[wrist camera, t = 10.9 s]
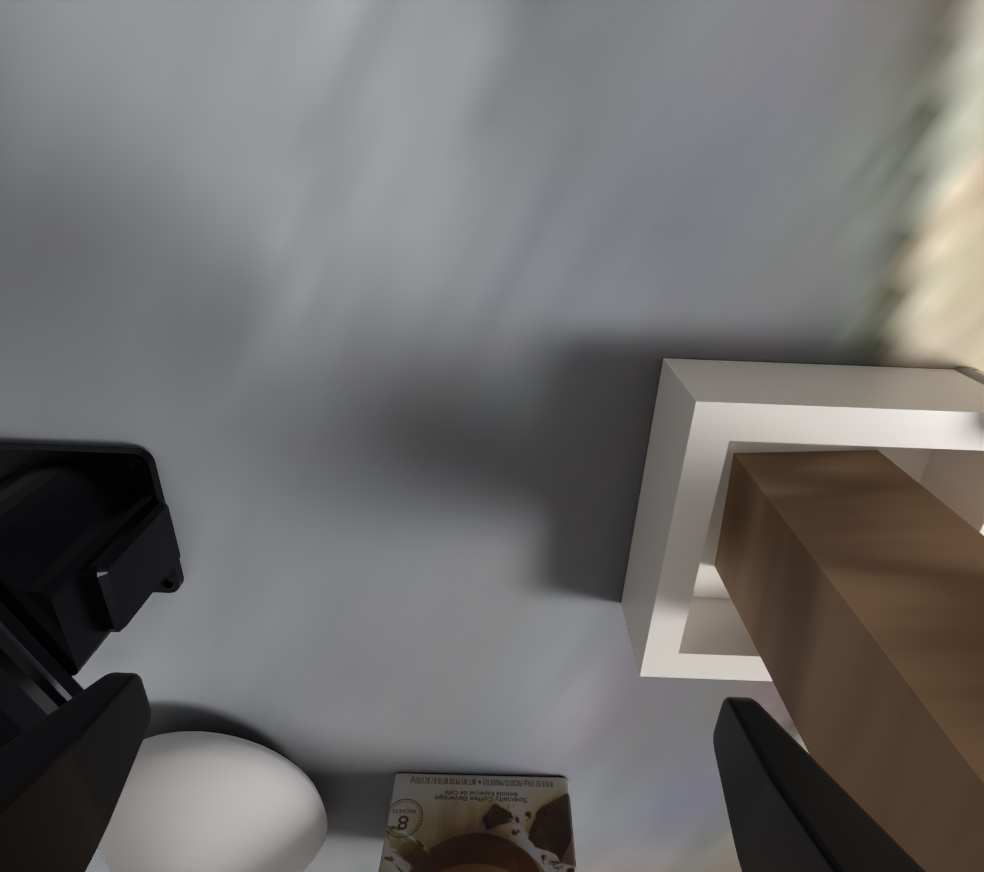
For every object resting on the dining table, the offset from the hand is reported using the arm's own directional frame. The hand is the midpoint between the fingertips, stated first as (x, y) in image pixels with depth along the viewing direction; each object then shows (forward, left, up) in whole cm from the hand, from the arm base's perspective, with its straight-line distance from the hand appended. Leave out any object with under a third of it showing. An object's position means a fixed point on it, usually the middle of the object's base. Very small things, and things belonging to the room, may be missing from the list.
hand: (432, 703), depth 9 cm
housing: (+12, -4, -13) cm, 18 cm away
